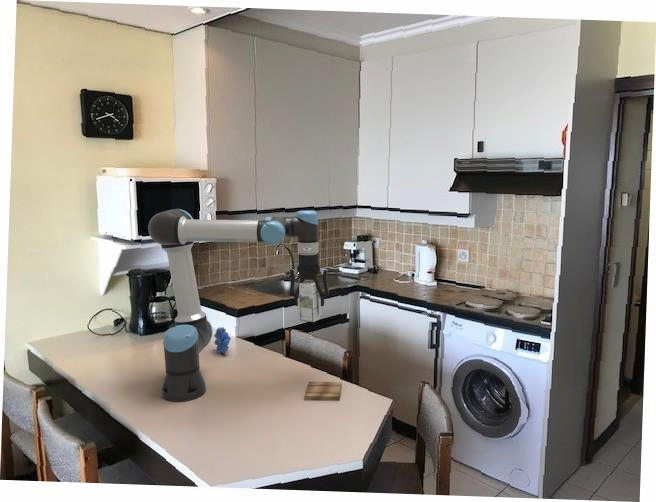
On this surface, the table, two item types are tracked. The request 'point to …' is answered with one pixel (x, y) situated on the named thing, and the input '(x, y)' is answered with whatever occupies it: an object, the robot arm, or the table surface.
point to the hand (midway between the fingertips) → (309, 314)
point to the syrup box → (309, 301)
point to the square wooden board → (323, 391)
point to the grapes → (222, 340)
